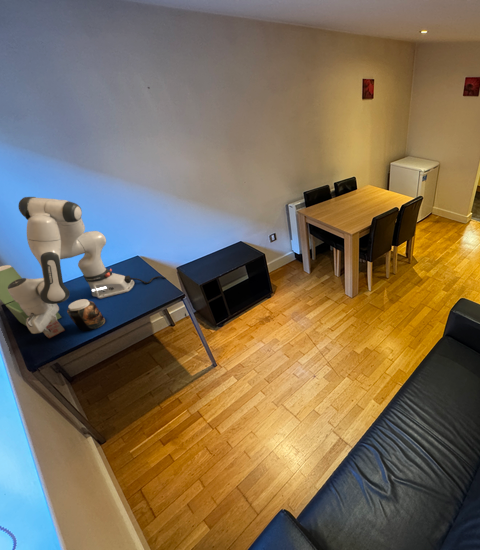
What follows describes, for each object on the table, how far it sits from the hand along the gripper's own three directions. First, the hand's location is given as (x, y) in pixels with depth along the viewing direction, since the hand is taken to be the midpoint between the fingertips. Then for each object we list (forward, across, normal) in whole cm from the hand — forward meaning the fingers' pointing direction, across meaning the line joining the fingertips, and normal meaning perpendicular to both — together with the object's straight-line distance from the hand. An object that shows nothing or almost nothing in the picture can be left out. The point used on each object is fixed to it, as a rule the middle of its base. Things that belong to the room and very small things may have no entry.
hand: (52, 327), depth 156 cm
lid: (-18, +22, +19) cm, 34 cm away
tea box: (+4, +16, +13) cm, 20 cm away
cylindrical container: (+4, +37, +27) cm, 46 cm away
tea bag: (+4, 0, 0) cm, 4 cm away
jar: (+4, +1, -16) cm, 16 cm away
